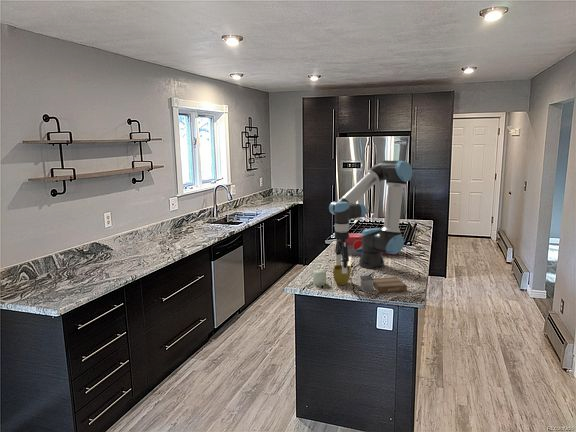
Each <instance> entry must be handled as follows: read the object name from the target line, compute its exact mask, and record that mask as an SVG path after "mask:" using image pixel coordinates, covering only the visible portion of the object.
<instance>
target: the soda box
mask: <svg viewBox="0 0 576 432" xmlns="http://www.w3.org/2000/svg"><path fill="white" fill-rule="evenodd" d="M345 242H347V249H348V256H350V255H352V256H354V255H355V256H361V255H362V233H360V232H359V233H358V232H356V233H354V232H353V233H352V232H351V233H350V232H349V238H348V239H346V240H345ZM381 254H382V257H383V256H386V257H400V255H401V251H400V252H399V253H397V254H388V253H385V252H381Z"/></svg>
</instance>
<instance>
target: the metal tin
mask: <svg viewBox="0 0 576 432" xmlns="http://www.w3.org/2000/svg"><path fill="white" fill-rule="evenodd" d="M374 279H375V278H374V277H373V276H372V275H360V290H361V291H362V292H365V293H366V292H367V291H368V292H374V286H373V280H374ZM368 292H367V293H368Z"/></svg>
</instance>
